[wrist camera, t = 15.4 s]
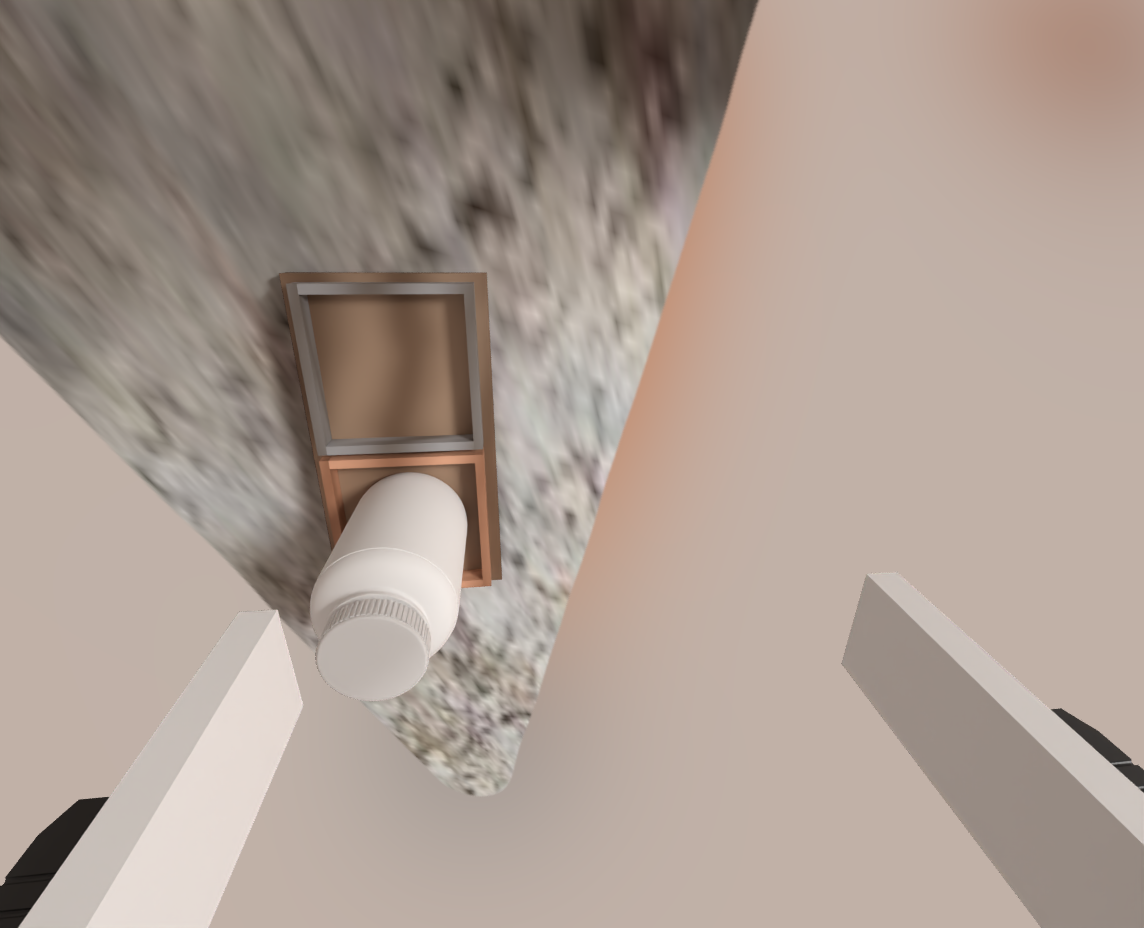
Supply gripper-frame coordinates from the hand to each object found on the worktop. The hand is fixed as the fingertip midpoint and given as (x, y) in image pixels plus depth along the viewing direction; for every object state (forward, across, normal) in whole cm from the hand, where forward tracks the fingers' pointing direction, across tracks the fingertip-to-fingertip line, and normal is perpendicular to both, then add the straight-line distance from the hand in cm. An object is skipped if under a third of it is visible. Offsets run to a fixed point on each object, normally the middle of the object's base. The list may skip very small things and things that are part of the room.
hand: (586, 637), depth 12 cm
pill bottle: (+26, -9, -11) cm, 30 cm away
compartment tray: (+28, -9, -6) cm, 30 cm away
